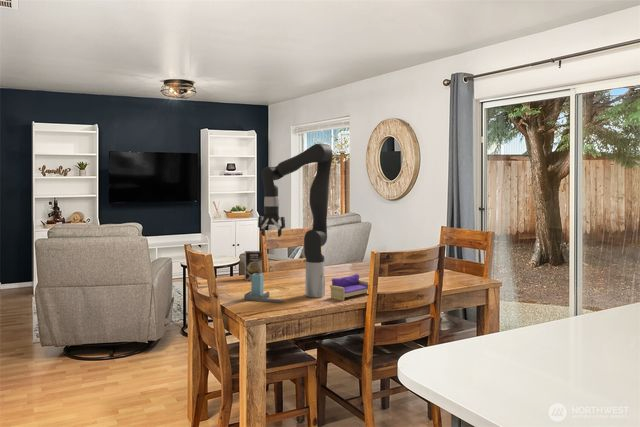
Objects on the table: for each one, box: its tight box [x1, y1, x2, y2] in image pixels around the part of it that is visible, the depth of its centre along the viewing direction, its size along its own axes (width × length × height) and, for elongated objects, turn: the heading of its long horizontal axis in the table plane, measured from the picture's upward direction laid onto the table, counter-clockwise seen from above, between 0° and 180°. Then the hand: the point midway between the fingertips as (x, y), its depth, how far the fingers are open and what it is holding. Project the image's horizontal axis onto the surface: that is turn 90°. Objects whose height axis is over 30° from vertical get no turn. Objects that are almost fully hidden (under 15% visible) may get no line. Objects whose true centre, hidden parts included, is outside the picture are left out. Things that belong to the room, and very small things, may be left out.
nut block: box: [250, 273, 265, 295], centre depth 264 cm, size 4×4×11 cm
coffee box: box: [243, 250, 263, 282], centre depth 309 cm, size 9×6×16 cm
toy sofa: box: [329, 273, 369, 302], centre depth 271 cm, size 21×9×10 cm, turn 135°
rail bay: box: [243, 290, 284, 304], centre depth 262 cm, size 19×10×2 cm, turn 75°
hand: (271, 236), depth 284 cm, fingers open, 8 cm apart
